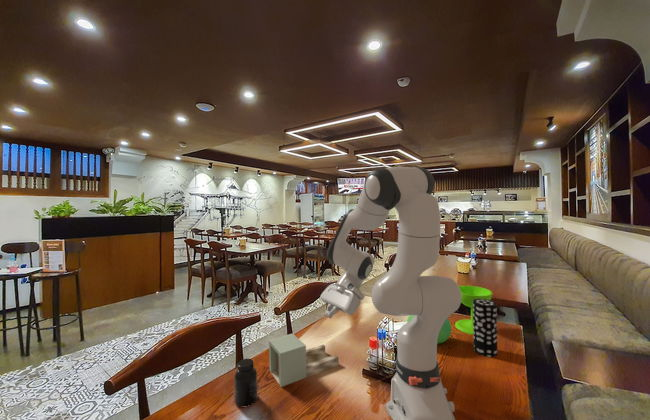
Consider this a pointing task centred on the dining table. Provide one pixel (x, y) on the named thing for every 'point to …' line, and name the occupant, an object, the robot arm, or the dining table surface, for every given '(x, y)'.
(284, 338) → the pale sage box
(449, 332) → the gravy boat
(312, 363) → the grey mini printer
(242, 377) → the supplement bottle
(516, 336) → the dining table surface
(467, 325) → the wineglass
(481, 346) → the white-spotted black cylinder
